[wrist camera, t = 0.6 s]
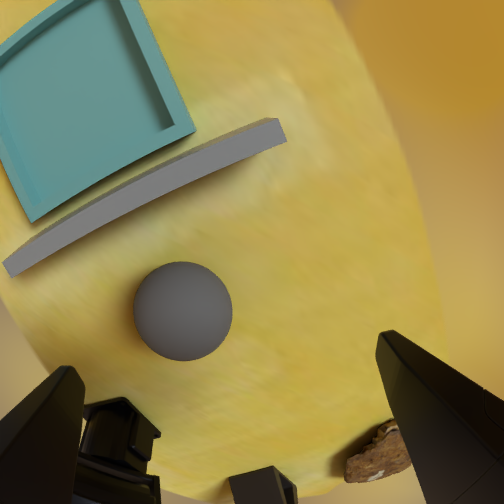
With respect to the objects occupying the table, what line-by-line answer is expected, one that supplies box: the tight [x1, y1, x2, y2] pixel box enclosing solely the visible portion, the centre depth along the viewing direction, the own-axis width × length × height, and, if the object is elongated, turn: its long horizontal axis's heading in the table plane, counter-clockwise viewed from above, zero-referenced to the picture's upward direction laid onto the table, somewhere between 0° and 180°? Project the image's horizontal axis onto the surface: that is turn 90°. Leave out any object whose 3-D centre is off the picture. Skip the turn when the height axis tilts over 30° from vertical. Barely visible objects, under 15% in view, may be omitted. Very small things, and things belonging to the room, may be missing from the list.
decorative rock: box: [344, 419, 412, 483], centre depth 33 cm, size 11×4×15 cm
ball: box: [133, 262, 232, 361], centre depth 19 cm, size 6×6×6 cm
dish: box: [0, 0, 196, 223], centre depth 15 cm, size 12×12×2 cm
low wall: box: [2, 118, 287, 278], centre depth 17 cm, size 18×1×4 cm, turn 112°
